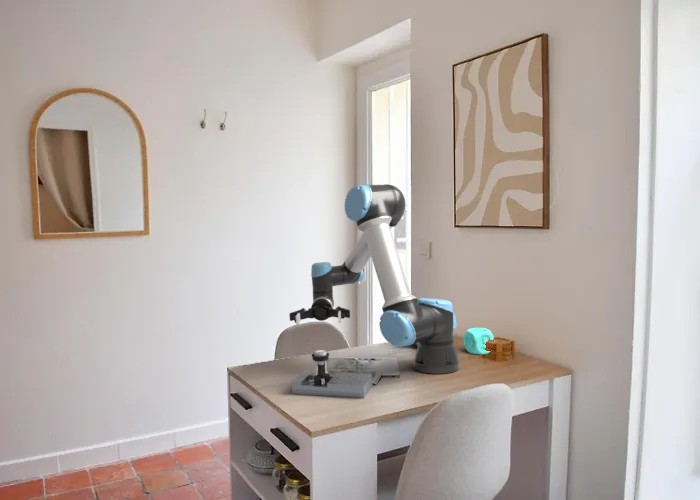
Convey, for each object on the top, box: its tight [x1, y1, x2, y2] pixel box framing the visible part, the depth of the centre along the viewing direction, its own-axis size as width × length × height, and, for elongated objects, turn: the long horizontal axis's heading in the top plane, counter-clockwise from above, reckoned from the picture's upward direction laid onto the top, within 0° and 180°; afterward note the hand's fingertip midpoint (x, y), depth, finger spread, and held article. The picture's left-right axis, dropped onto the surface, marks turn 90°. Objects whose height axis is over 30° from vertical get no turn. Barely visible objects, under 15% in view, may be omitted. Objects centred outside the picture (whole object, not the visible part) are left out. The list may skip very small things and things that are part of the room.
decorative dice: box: [463, 327, 495, 355], centre depth 204 cm, size 8×8×8 cm
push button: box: [310, 349, 331, 386], centre depth 168 cm, size 7×5×10 cm
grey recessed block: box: [291, 370, 374, 399], centre depth 168 cm, size 22×11×4 cm, turn 75°
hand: (318, 319), depth 178 cm, fingers open, 13 cm apart
